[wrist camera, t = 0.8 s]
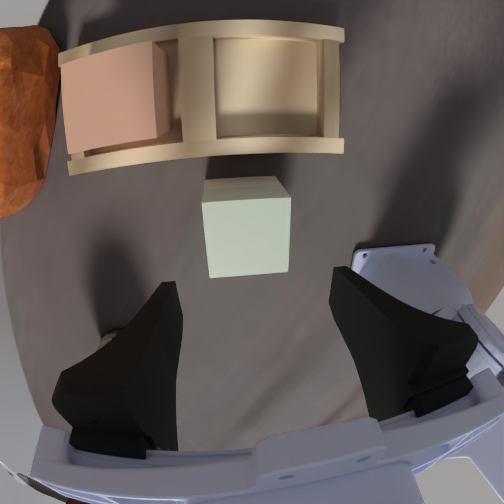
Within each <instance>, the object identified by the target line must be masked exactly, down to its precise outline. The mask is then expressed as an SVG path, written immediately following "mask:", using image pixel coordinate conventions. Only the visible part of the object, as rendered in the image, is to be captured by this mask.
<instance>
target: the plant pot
mask: <svg viewBox="0 0 504 504" xmlns="http://www.w3.org/2000/svg"><path fill="white" fill-rule="evenodd" d="M66 504H90V503H87V502H83V501H79V500H76V499H73V498H69V499H68V501H67V502H66Z"/></svg>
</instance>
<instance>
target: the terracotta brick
mask: <svg viewBox="0 0 504 504" xmlns="http://www.w3.org/2000/svg"><path fill="white" fill-rule="evenodd" d="M61 87H62V103H63V115H64V125H65V134H66V141H67V148H68V154H72V153H76V152H81V151H85V150H90V149H95V148H100V147H105V146H110V145H116V144H121V143H127V142H133V141H140V140H146V139H154V138H158V137H160V136H161V135H163V134H164V133H166V132H168V131H170V130H171V129H173V128H172V113H171V97H170V75H169V55H167V54H166V53H165V52H164V51H163V50H162V49H161V48H160V47H159V46H157V45H156V44H155V43H154V42H153V41H148V42H142V43H137V44H132V45H128V46H123V47H119V48H115V49H111V50H107V51H103V52H99V53H96V54H92V55H89V56H86V57H82V58H79V59H76V60H73V61H70V62H67V63H65V64H62V65H61Z"/></svg>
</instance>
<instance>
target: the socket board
mask: <svg viewBox="0 0 504 504" xmlns="http://www.w3.org/2000/svg"><path fill="white" fill-rule="evenodd" d="M148 41H153V42H154V43H155V44H156V45H157V46H159V47H160V48H161V49H162V50H163V51H164V52H165V53H166V54H167V55H169V75H170V97H171V113H172V128H173V129H171V130H170V131H168V132H166V133H164V134H163V135H161V136H160V137H158V138H154V139H146V140H140V141H133V142H127V143H121V144H116V145H110V146H105V147H100V148H95V149H90V150H85V151H81V152H76V153H72V154H71V158H72V159H71V160H69V161H67V164H68V170H69V175H70V176H71V175H76V174H81V173H86V172H91V171H97V170H102V169H108V168H114V167H120V166H127V165H134V164H141V163H148V162H156V161H164V160H173V159H183V158H193V157H205V156H218V155H234V154H256V153H343V151H344V138H341V137H339V102H340V67H339V44H340V43H343V42H345V37H344V28H340V27H334V26H327V25H320V24H312V23H303V22H292V21H278V20H216V21H202V22H191V23H182V24H174V25H167V26H160V27H154V28H149V29H143V30H138V31H134V32H129V33H125V34H120V35H116V36H112V37H109V38H105V39H101V40H98V41H94V42H91V43H88V44H85V45H81V46H78V47H75V48H73V49H70V50H67V51H64V52H61V53H59V54H58V67H61V65H62V64H65V63H67V62H70V61H73V60H76V59H79V58H82V57H86V56H89V55H92V54H96V53H99V52H103V51H107V50H111V49H115V48H119V47H123V46H128V45H132V44H137V43H142V42H148Z"/></svg>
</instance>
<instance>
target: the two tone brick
mask: <svg viewBox="0 0 504 504" xmlns="http://www.w3.org/2000/svg"><path fill="white" fill-rule="evenodd" d="M202 211H203V221H204V231H205V240H206V249H207V258H208V267H209V275H210V278H217V277H230V276H243V275H255V274H268V273H279V272H288V262H289V240H290V212H291V197H290V195H289V194H288V193H287V191H286V190H285V189H284V187H283V186H282V184H281V183H280V182H279V180H278V179H277V178H276V176H257V177H238V178H222V179H209V180H205V184H204V191H203V198H202Z"/></svg>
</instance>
